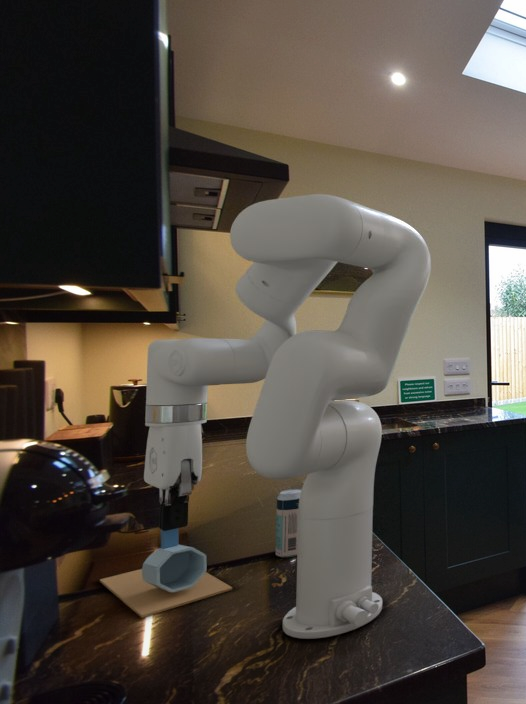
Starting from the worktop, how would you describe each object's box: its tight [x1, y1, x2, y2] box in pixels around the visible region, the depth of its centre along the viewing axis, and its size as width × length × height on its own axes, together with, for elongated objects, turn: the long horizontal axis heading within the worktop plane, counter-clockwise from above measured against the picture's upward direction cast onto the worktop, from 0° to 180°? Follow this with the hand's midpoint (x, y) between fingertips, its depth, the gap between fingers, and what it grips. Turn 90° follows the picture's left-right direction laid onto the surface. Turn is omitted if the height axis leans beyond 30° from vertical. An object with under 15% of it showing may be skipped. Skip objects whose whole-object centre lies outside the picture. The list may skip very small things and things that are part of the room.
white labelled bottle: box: [275, 488, 302, 559], centre depth 101 cm, size 5×5×12 cm
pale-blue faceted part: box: [141, 528, 208, 593], centre depth 84 cm, size 7×6×11 cm
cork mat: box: [99, 568, 233, 619], centre depth 86 cm, size 22×11×1 cm, turn 57°
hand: (173, 527), depth 85 cm, fingers closed
